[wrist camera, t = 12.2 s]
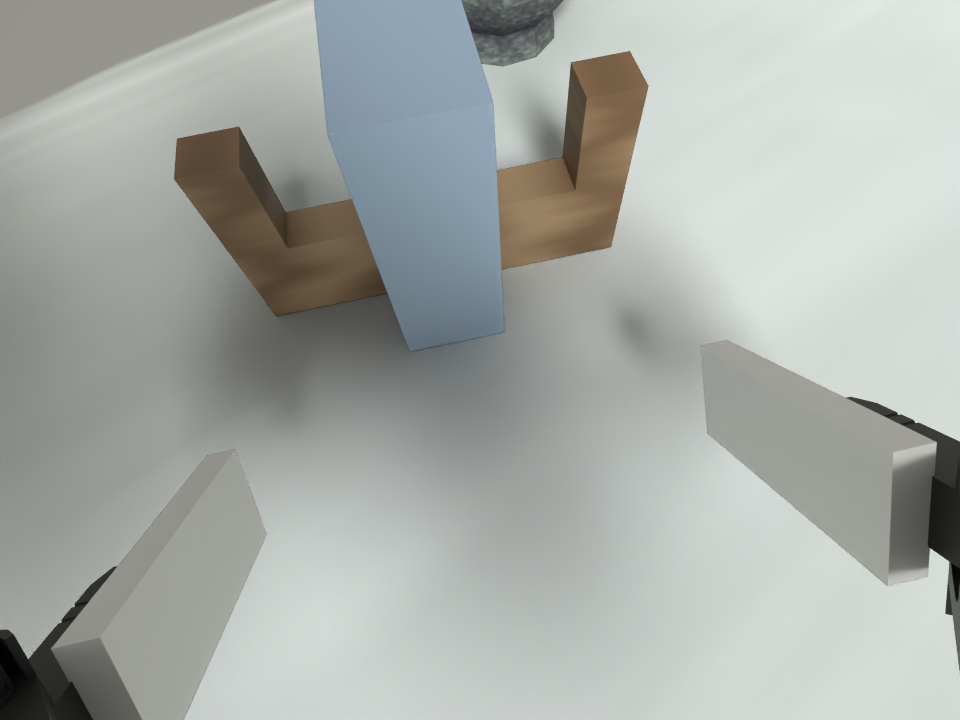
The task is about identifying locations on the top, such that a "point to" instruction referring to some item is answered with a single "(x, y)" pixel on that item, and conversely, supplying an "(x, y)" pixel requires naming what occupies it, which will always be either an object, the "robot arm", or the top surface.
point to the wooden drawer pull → (339, 233)
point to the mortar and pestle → (510, 28)
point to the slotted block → (417, 158)
